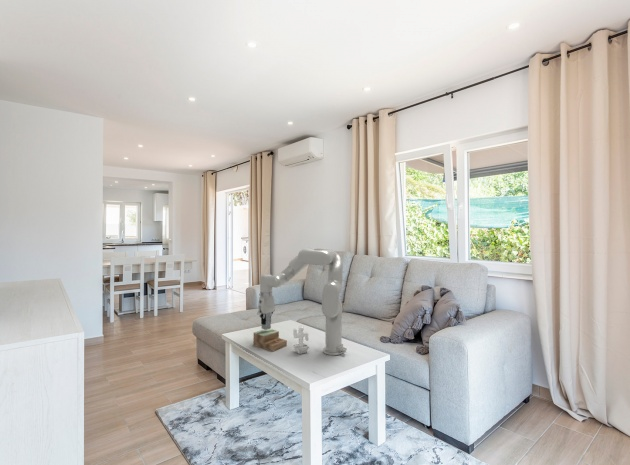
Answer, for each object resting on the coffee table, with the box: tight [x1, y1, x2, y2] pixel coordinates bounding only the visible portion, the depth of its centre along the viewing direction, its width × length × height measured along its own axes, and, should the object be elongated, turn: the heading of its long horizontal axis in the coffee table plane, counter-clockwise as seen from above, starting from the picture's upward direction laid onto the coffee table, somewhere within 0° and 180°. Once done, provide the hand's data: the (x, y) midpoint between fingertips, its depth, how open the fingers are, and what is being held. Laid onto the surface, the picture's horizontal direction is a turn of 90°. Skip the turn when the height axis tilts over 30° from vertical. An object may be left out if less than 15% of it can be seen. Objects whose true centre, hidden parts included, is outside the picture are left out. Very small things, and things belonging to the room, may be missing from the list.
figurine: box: [292, 325, 310, 355], centre depth 195 cm, size 7×9×15 cm
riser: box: [253, 328, 288, 352], centre depth 206 cm, size 17×12×8 cm
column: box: [261, 312, 272, 330], centre depth 208 cm, size 4×4×12 cm
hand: (266, 323), depth 208 cm, fingers closed on column, 4 cm apart
